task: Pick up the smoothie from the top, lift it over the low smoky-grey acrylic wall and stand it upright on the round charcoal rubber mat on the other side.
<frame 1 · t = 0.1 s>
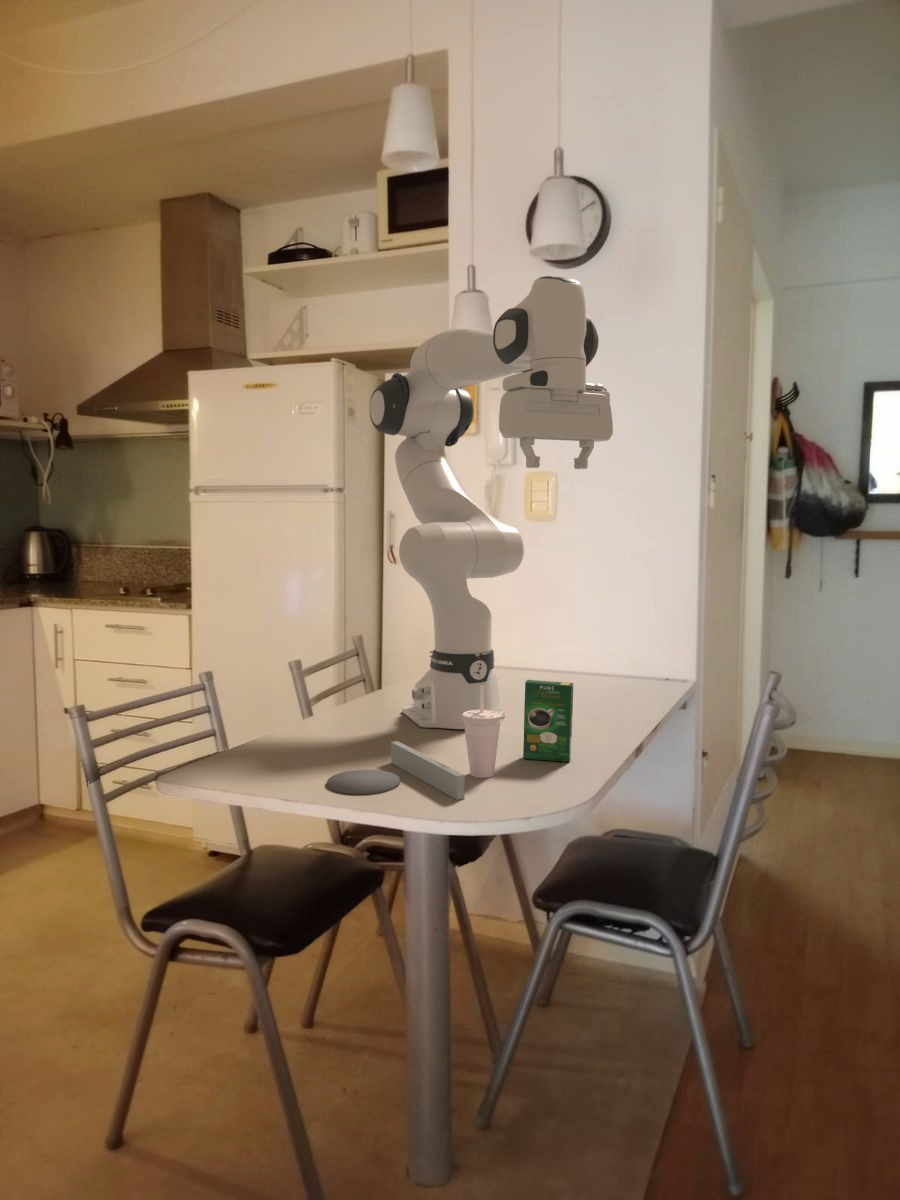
hand: (557, 468, 145), 48 cm above the table, tool pointing down, fingers open, 8 cm apart
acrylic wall: (425, 779, 138), on the table
smoothie: (482, 775, 141), on the table
coffee box: (548, 760, 150), on the table
pad: (363, 783, 137), on the table
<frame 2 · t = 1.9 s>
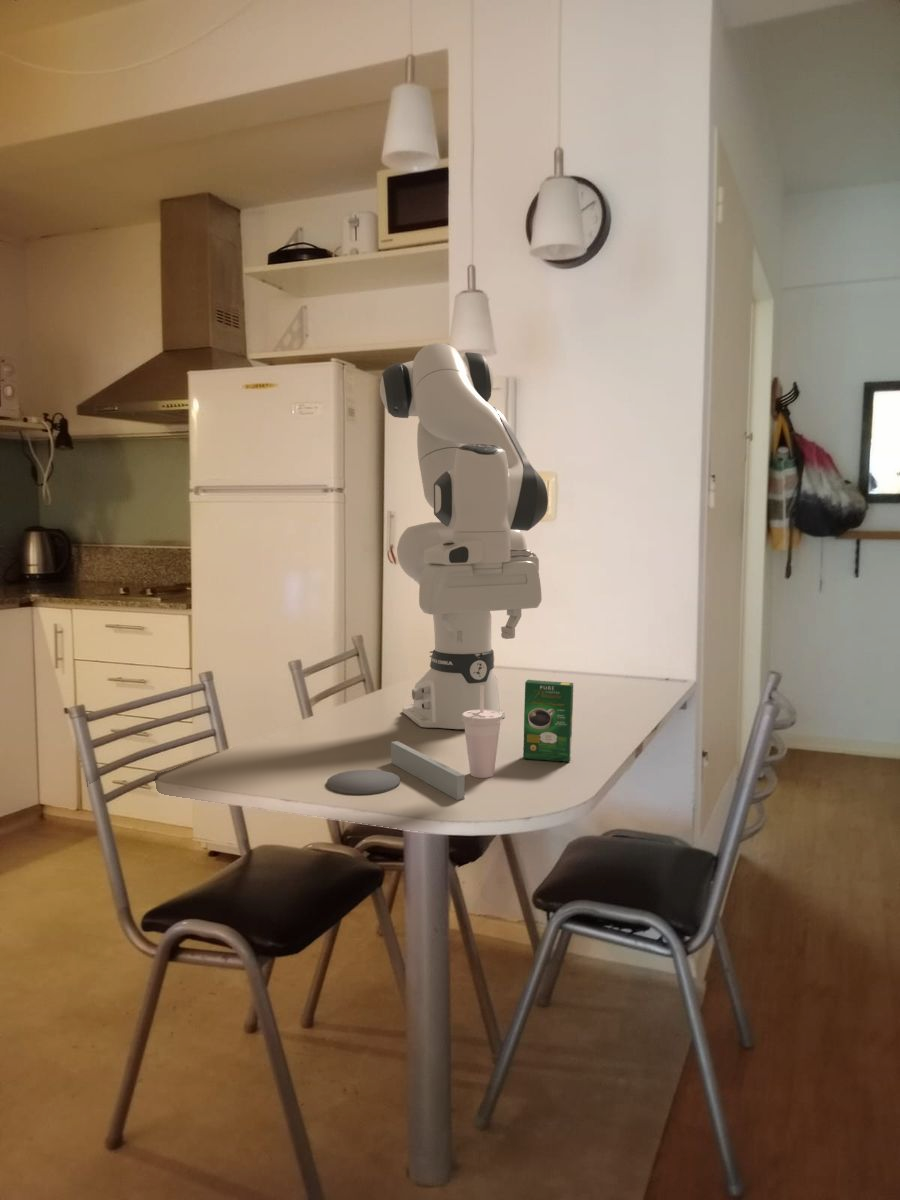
hand: (482, 640, 139), 21 cm above the table, tool pointing down, fingers open, 8 cm apart
nothing on the table moved.
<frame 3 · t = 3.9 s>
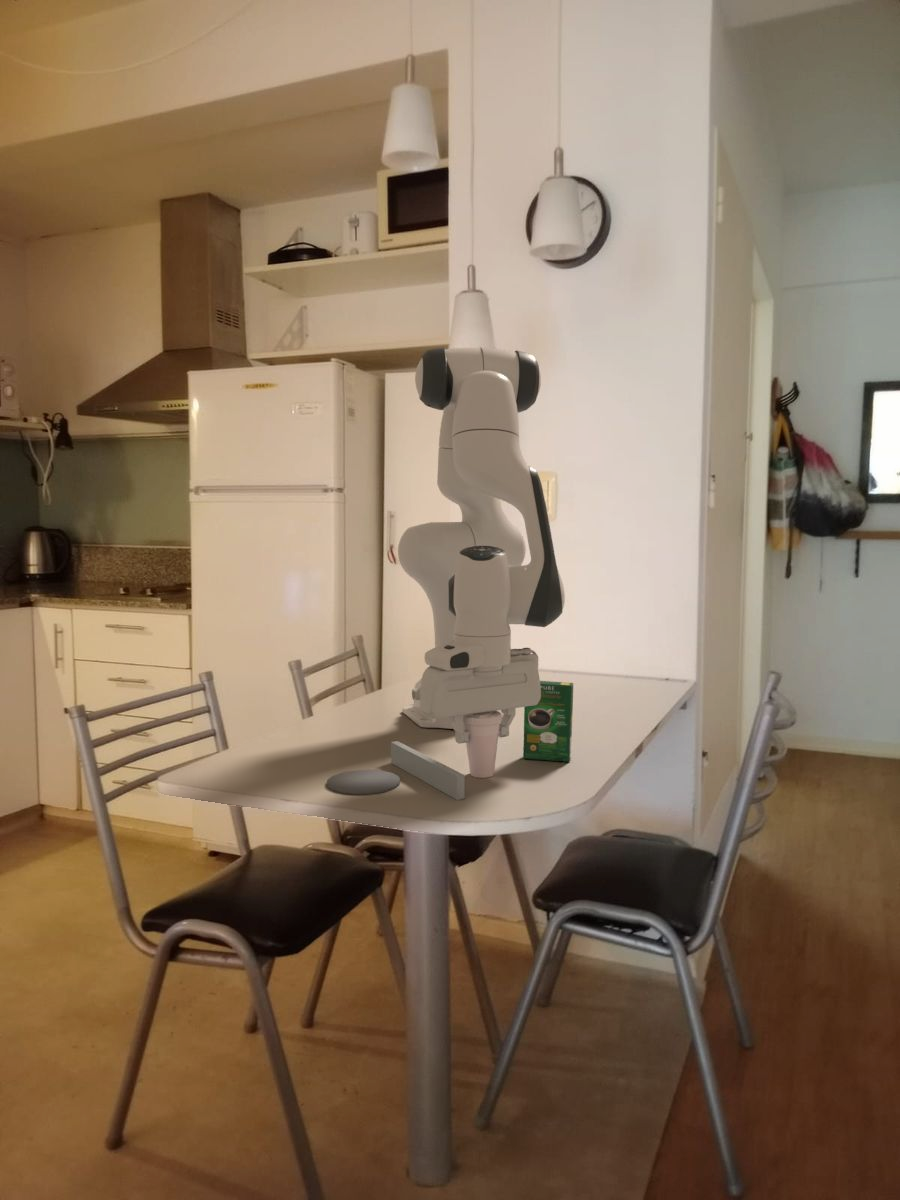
hand: (482, 739, 141), 6 cm above the table, tool pointing down, fingers closed on smoothie, 6 cm apart
smoothie: (482, 775, 141), on the table, touching gripper
everything else where it was.
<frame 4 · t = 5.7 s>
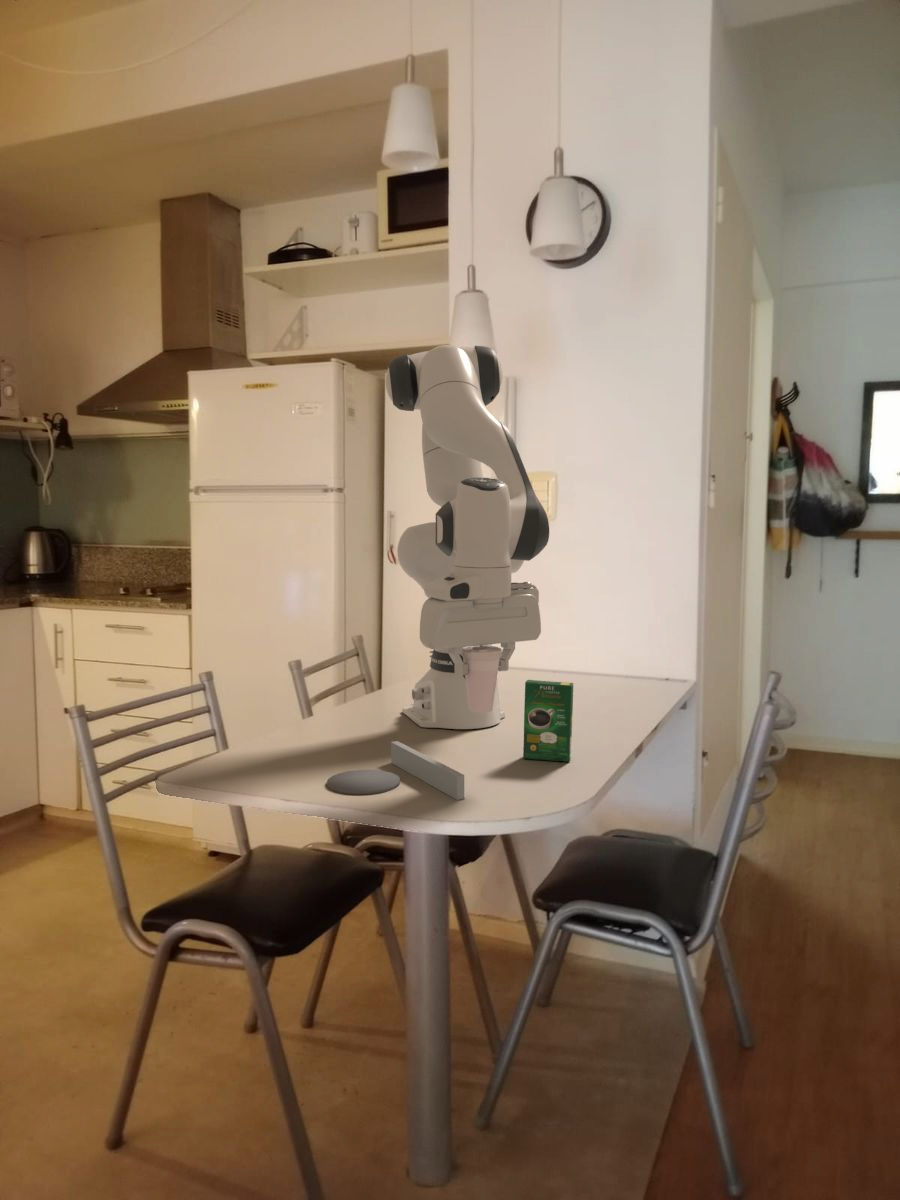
hand: (481, 672, 140), 16 cm above the table, tool pointing down, fingers closed on smoothie, 6 cm apart
smoothie: (480, 711, 141), point 10 cm above the table, touching gripper
everything else where it was.
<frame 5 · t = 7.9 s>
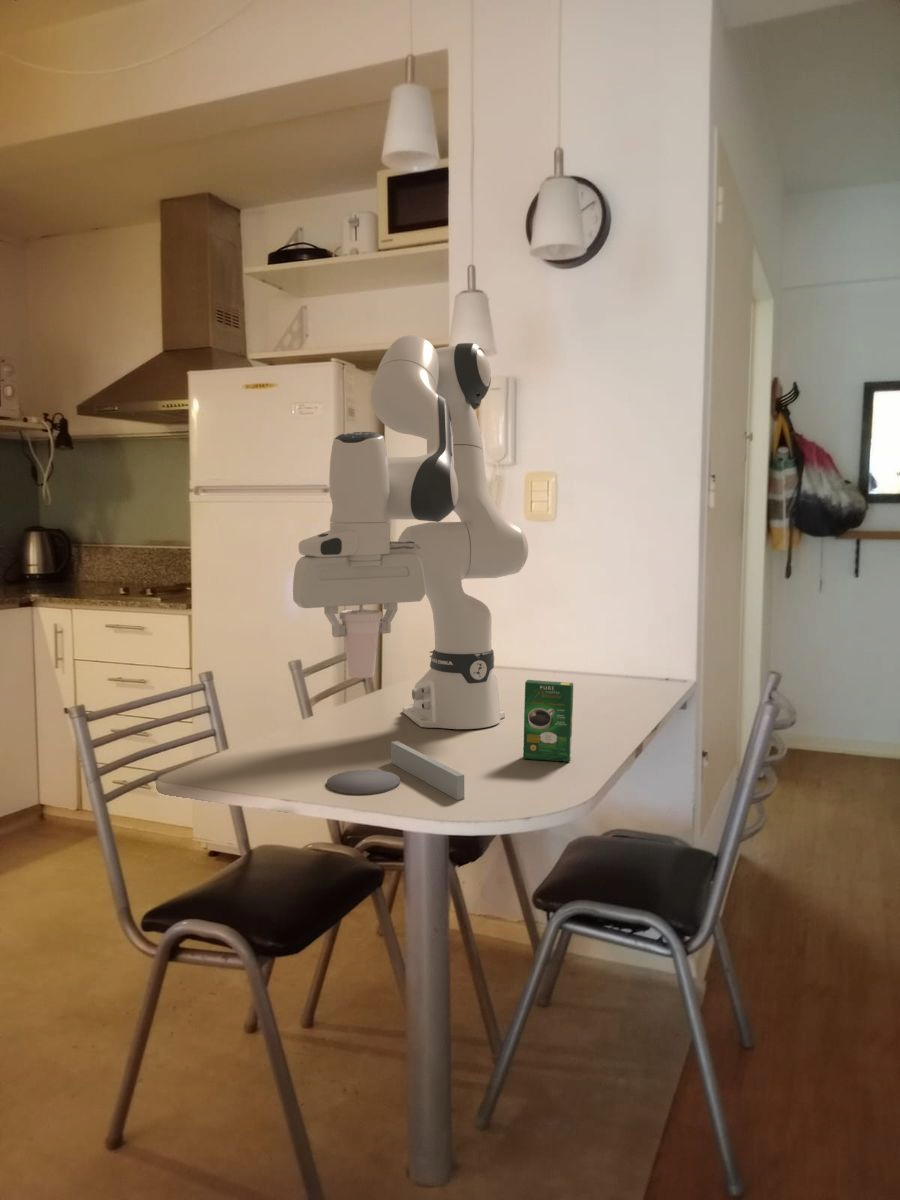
hand: (361, 634, 135), 23 cm above the table, tool pointing down, fingers closed on smoothie, 6 cm apart
smoothie: (361, 677, 135), point 16 cm above the table, touching gripper
everything else where it was.
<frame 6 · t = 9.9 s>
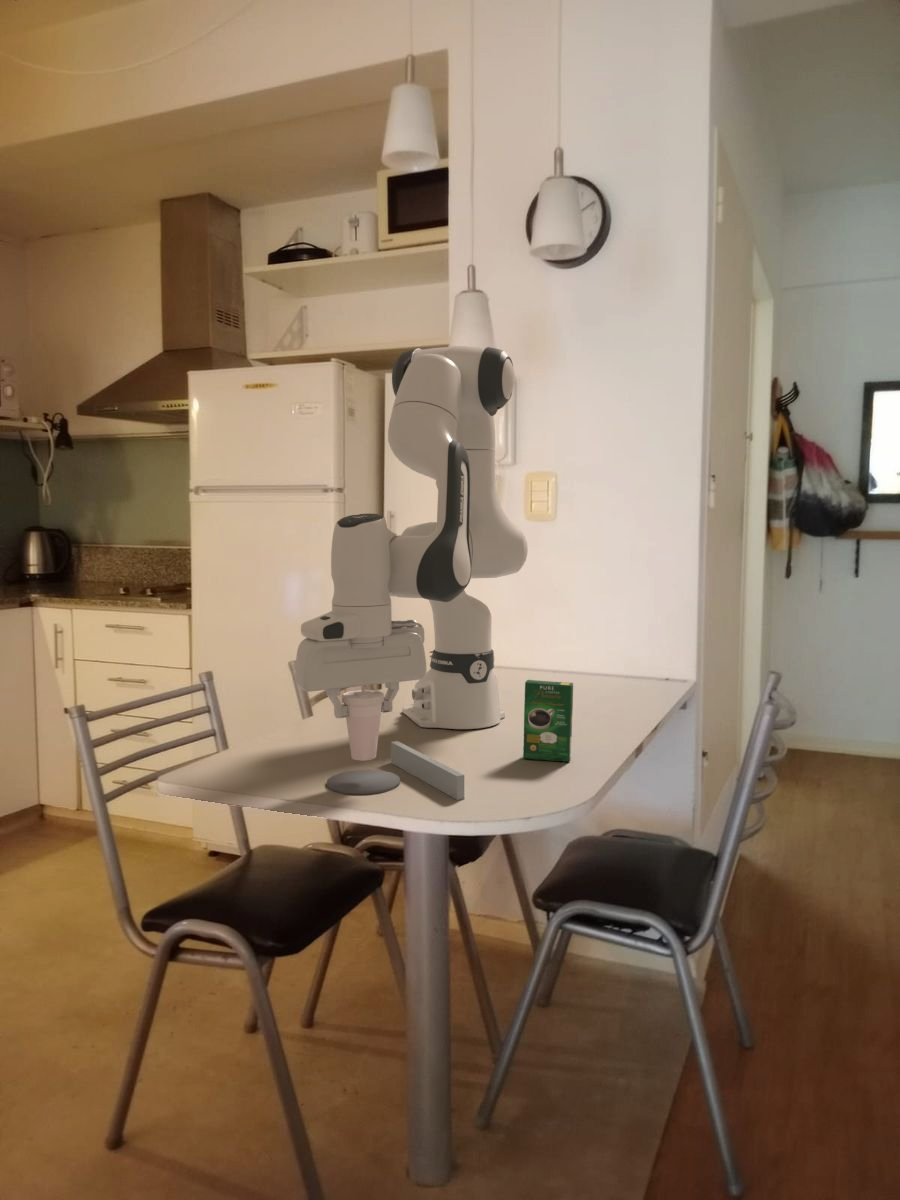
hand: (363, 714, 136), 11 cm above the table, tool pointing down, fingers closed on smoothie, 6 cm apart
smoothie: (363, 758, 136), point 4 cm above the table, touching gripper
everything else where it was.
when the fingers open (7 cm above the table, at t = 11.6 s): smoothie stays where it is, resting on pad.
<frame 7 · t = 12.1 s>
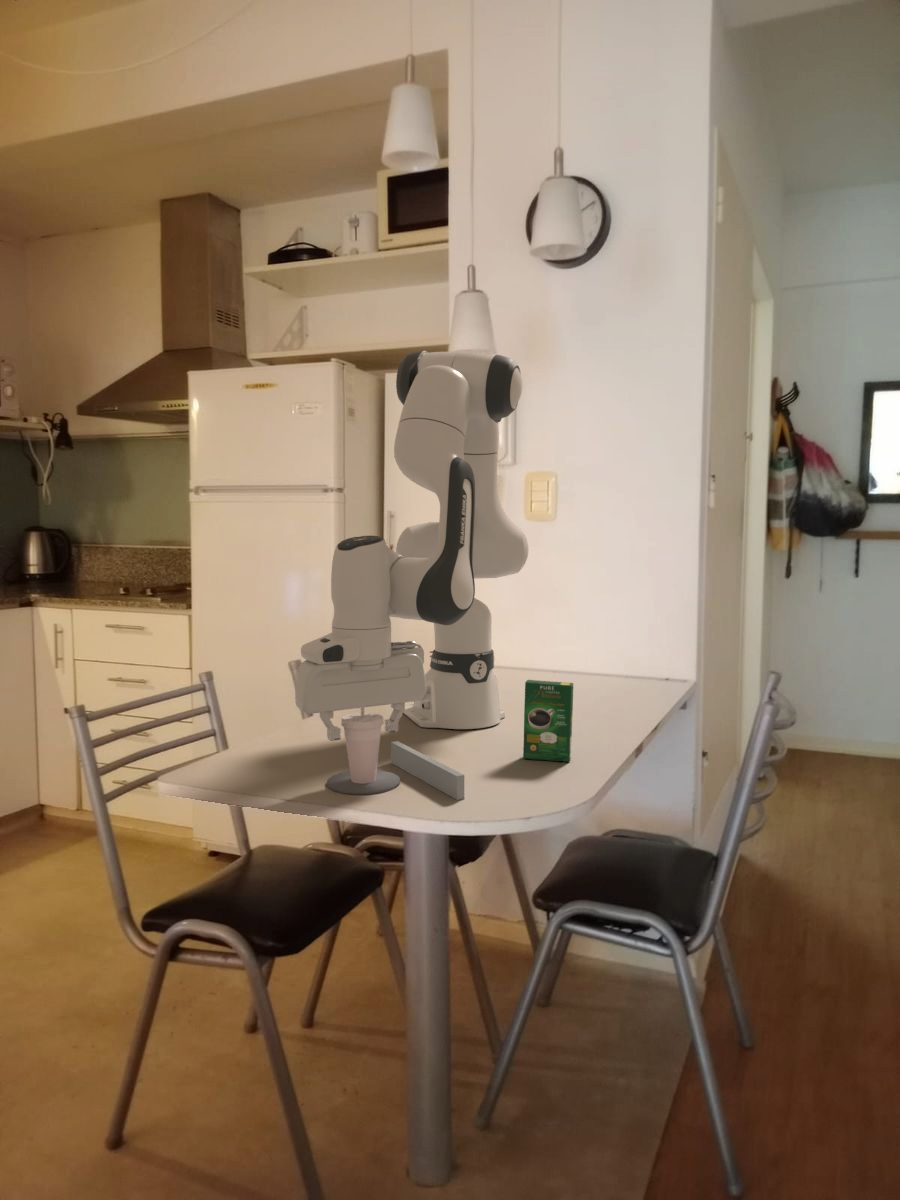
hand: (363, 735, 136), 7 cm above the table, tool pointing down, fingers open, 8 cm apart
smoothie: (363, 781, 137), resting on pad
everything else where it was.
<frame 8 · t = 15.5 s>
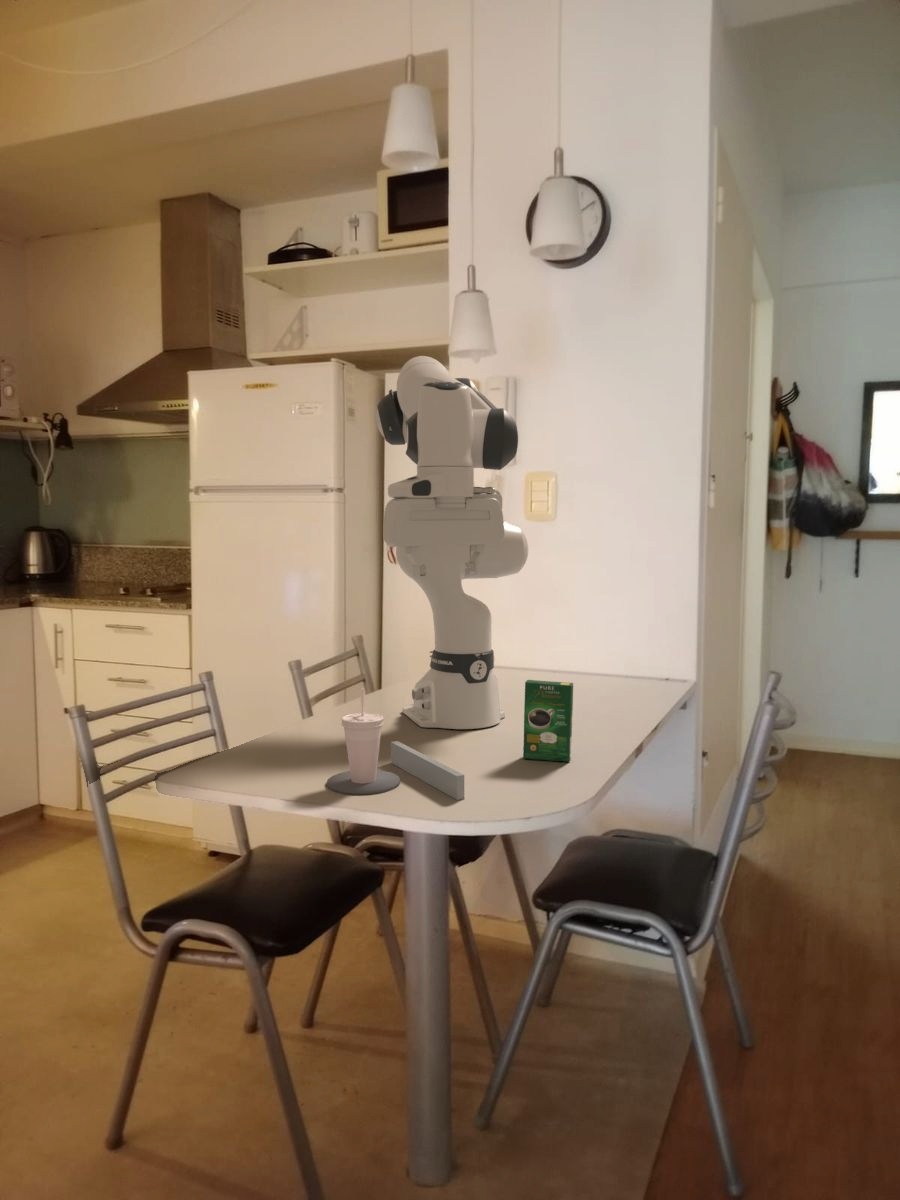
hand: (445, 574, 142), 31 cm above the table, tool pointing down, fingers open, 8 cm apart
nothing on the table moved.
at the end: smoothie 0.0 cm from the pad (horizontally); smoothie tilted 0°; the gripper is holding nothing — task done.
